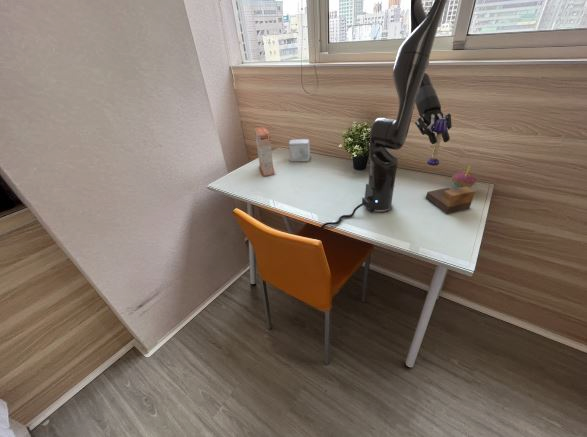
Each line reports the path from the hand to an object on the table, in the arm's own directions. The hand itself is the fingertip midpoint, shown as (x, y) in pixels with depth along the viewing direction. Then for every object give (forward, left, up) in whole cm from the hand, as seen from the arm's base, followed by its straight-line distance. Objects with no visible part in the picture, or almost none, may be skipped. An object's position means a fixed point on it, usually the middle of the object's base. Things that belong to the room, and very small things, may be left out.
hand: (440, 142), depth 100 cm
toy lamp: (0, +2, -9) cm, 9 cm away
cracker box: (-60, +49, -21) cm, 81 cm away
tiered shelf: (+1, -10, -21) cm, 23 cm away
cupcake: (+13, -2, -21) cm, 25 cm away
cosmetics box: (-40, +56, -21) cm, 73 cm away
